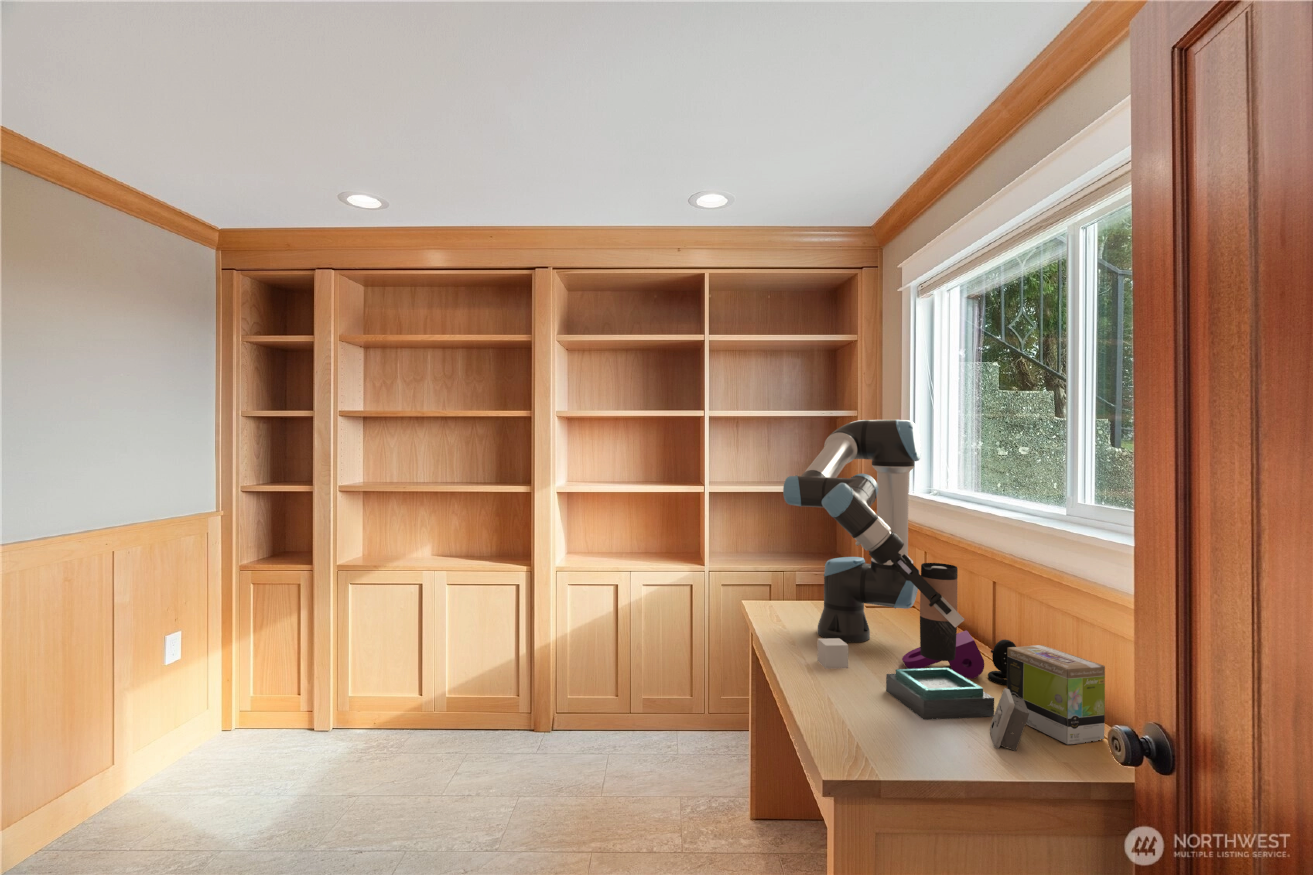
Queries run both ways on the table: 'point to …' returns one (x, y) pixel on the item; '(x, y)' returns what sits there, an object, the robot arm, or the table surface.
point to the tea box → (1059, 692)
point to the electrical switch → (1008, 721)
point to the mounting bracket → (964, 663)
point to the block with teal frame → (939, 694)
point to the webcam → (1000, 661)
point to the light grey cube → (832, 653)
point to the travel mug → (938, 613)
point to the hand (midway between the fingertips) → (954, 618)
